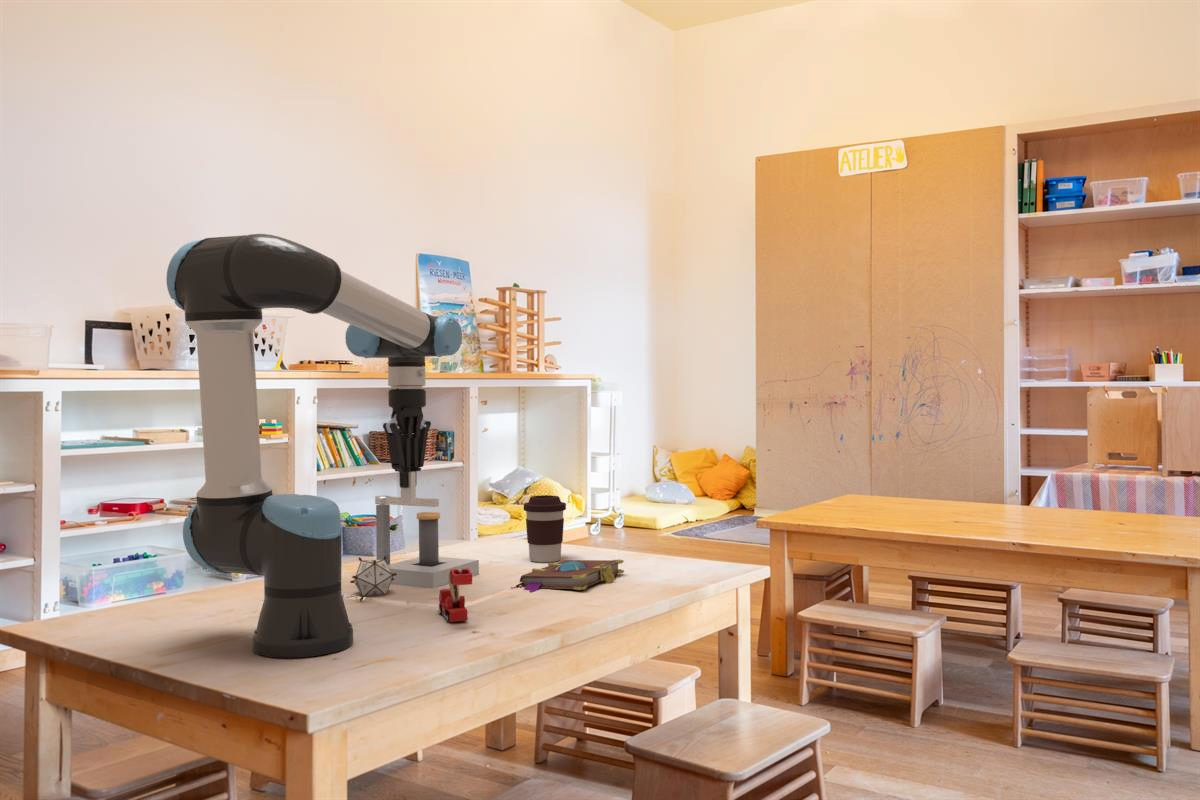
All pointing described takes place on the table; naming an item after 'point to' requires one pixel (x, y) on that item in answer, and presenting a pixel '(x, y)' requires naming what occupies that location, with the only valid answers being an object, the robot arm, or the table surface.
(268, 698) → the table surface
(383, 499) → the silver ball-ended lever
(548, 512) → the coffee cup
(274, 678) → the table surface
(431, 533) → the plug
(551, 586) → the book
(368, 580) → the game die
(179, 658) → the table surface
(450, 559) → the socket block
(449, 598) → the toy fire truck
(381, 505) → the post
